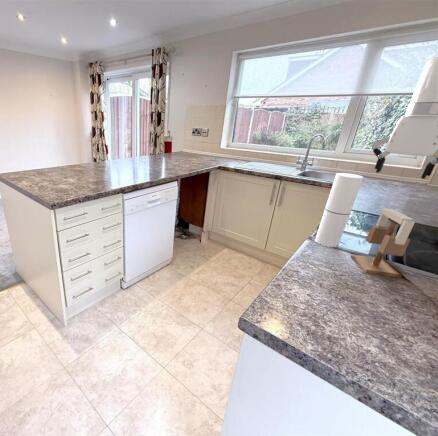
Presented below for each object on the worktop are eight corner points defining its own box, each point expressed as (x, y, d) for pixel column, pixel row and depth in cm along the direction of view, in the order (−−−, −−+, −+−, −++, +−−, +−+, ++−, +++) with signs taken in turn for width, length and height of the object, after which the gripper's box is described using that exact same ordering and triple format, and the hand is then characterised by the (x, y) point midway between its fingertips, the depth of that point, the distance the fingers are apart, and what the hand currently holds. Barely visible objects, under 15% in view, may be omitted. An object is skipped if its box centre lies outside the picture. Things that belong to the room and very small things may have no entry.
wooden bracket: (382, 241, 77) (396, 208, 73) (404, 257, 68) (422, 221, 64) (364, 239, 78) (377, 206, 74) (383, 255, 69) (400, 219, 65)
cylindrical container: (310, 240, 91) (331, 174, 82) (322, 236, 94) (343, 172, 85) (331, 249, 85) (356, 178, 76) (342, 244, 88) (368, 176, 79)
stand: (382, 261, 79) (403, 215, 72) (401, 278, 71) (427, 227, 64) (350, 257, 81) (368, 212, 74) (365, 273, 73) (387, 223, 66)
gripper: (477, 111, 61) (444, 178, 68) (386, 111, 73) (365, 168, 80) (478, 110, 57) (442, 182, 63) (380, 110, 69) (359, 171, 75)
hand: (399, 174), depth 72 cm, fingers open, 9 cm apart
